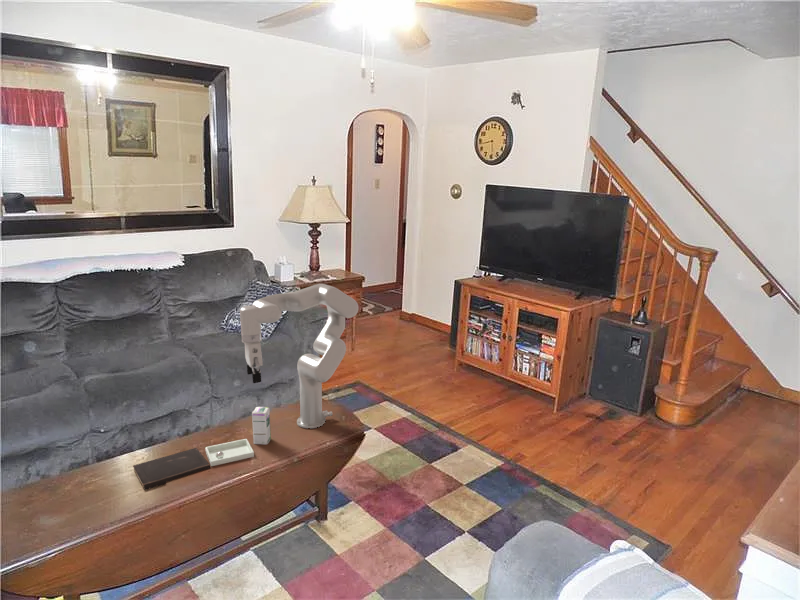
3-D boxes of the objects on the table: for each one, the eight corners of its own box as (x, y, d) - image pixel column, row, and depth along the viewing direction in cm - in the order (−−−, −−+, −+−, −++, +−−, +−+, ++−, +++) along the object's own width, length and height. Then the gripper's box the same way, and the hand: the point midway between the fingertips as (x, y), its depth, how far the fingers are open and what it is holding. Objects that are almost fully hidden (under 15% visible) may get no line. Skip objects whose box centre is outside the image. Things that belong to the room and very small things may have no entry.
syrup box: (267, 445, 218) (266, 412, 215) (252, 445, 218) (251, 412, 215) (271, 438, 224) (270, 406, 220) (256, 438, 224) (255, 406, 221)
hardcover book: (133, 471, 199) (132, 465, 198) (196, 452, 213) (196, 447, 212) (144, 491, 187) (143, 485, 186) (210, 470, 201) (210, 465, 200)
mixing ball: (223, 456, 209) (222, 449, 208) (224, 459, 206) (224, 452, 205) (215, 457, 207) (214, 450, 206) (216, 461, 205) (216, 454, 204)
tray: (246, 444, 219) (246, 438, 219) (254, 457, 209) (253, 452, 208) (205, 452, 212) (205, 447, 211) (211, 467, 201) (210, 461, 201)
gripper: (266, 342, 204) (269, 384, 209) (256, 329, 219) (258, 369, 224) (246, 345, 201) (249, 387, 205) (237, 332, 216) (240, 372, 220)
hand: (254, 378), depth 214 cm, fingers open, 9 cm apart
